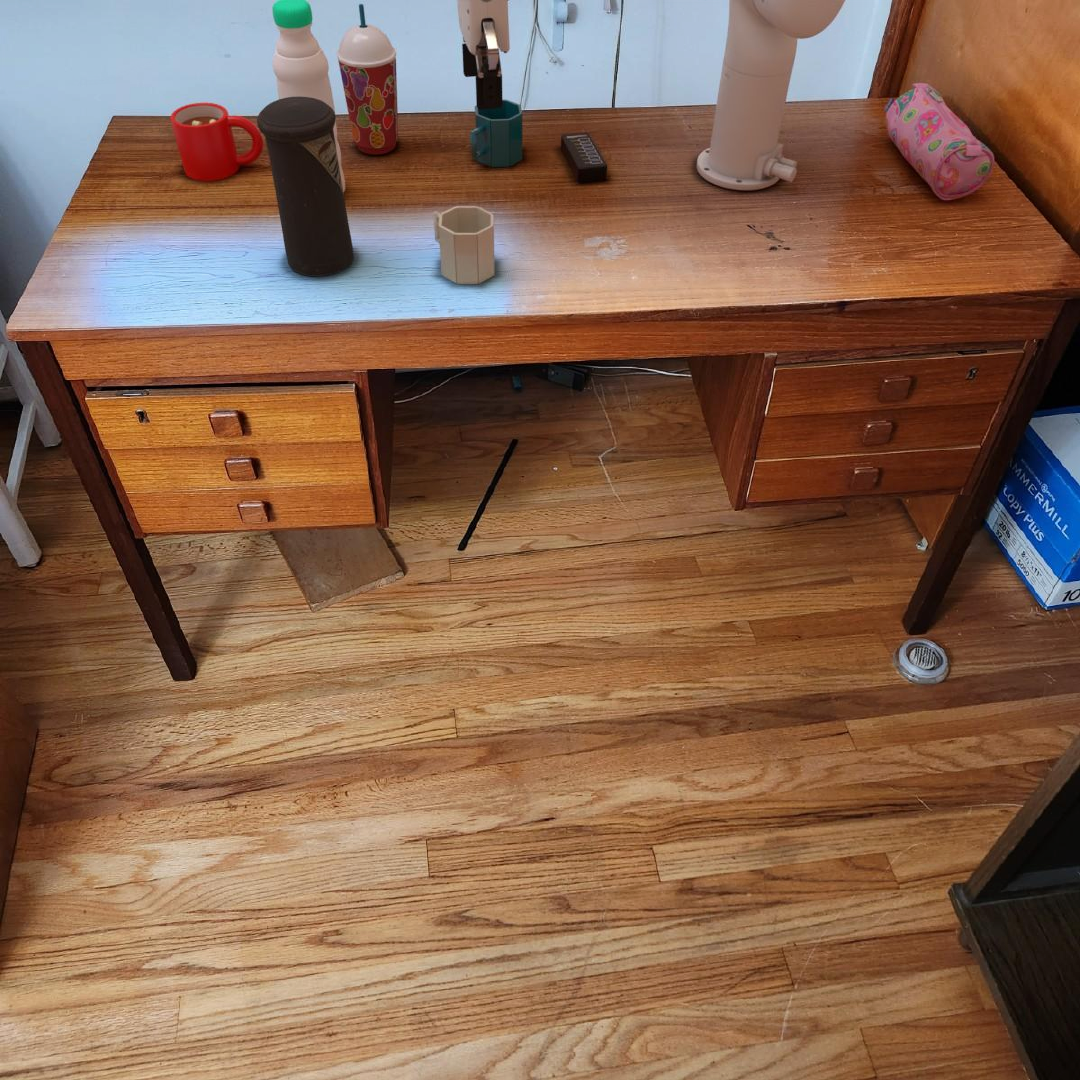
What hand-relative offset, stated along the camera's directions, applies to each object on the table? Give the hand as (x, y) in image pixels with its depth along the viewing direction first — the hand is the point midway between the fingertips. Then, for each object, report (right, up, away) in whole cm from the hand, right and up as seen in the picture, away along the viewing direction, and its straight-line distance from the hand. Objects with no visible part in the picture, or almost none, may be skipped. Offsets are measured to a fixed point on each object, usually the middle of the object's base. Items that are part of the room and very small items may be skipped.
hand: (482, 91), depth 123 cm
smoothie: (-18, +2, +24) cm, 30 cm away
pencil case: (+66, -2, +22) cm, 69 cm away
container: (-21, -21, +2) cm, 30 cm away
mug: (-39, -3, +19) cm, 43 cm away
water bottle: (-24, -8, +14) cm, 29 cm away
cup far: (0, 0, +22) cm, 22 cm away
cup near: (-3, -22, +2) cm, 22 cm away
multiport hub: (+14, -1, +21) cm, 25 cm away
